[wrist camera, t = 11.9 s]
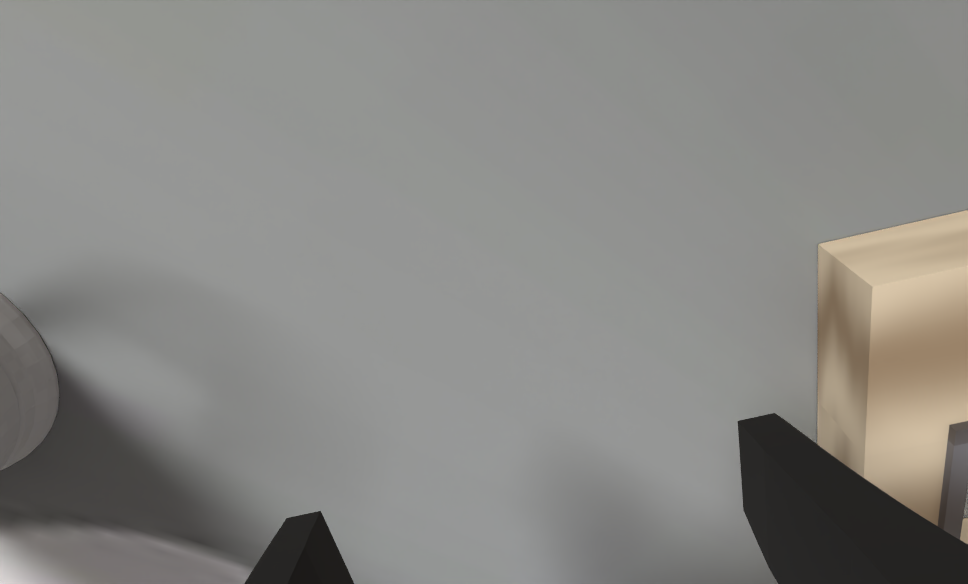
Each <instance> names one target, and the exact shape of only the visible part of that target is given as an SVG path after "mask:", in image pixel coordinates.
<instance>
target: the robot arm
mask: <svg viewBox="0 0 968 584" xmlns="http://www.w3.org/2000/svg"><path fill="white" fill-rule="evenodd" d="M738 431H739V447H740V462H741V477H742V493H743V508H744V512H745V514H746V517H747V519H748V521H749V524H750V526H751V528H752V530H753V533H754V535H755V537H756V540H757V542H758V544H759V546H760V549H761V551H762V553H763V555H764V557H765V560H766V562H767V564H768V566H769V568H770V570H771V572H772V573H773V575H774V577H775V579H776V580H777V582H778V584H968V544H966V543H965V542H963V541H961V540H959V539H958V538H956V537H954V536H953V535H951V534H950V533H948V532H946V531H945V530H943V529H941V528H940V527H938V526H937V525H935V524H933V523H932V522H930V521H928V520H927V519H925V518H923V517H922V516H920V515H919V514H917V513H916V512H914V511H913V510H911V509H909V508H908V507H906V506H905V505H903V504H902V503H900V502H899V501H897V500H896V499H894V498H893V497H891V496H890V495H888V494H887V493H885V492H884V491H882V490H881V489H879V488H878V487H877V486H875V485H874V484H872V483H871V482H869V481H868V480H866V479H865V478H863V477H862V476H860V475H859V474H858V473H856V472H855V471H853V470H852V469H850V468H849V467H848V466H846V465H845V464H843V463H842V462H841V461H839V460H838V459H837V458H835V457H834V456H832V455H831V454H830V453H828V452H827V451H826V450H824V449H823V448H821V447H820V446H819V445H817V444H816V443H815V442H813V441H812V440H811V439H809V438H808V437H807V436H805V435H804V434H803V433H801V432H800V431H799V430H797V429H796V428H795V427H793V426H792V425H791V424H789V423H788V422H787V421H785V420H784V419H783V418H781V417H780V416H778V415H777V414H775V413H773V414H768V415H764V416H759V417H754V418H750V419H745V420H740V421H738ZM245 584H354V582H353V580H352V578H351V576H350V574H349V572H348V569H347V567H346V565H345V563H344V561H343V559H342V556H341V554H340V552H339V550H338V548H337V546H336V543H335V541H334V539H333V537H332V535H331V533H330V530H329V528H328V526H327V524H326V522H325V519H324V517H323V515H322V513H321V511H318V512H314V513H309V514H304V515H300V516H295V517H290V518H287V519H286V520H285V522H284V523H283V525H282V526H281V528H280V529H279V531H278V532H277V534H276V535H275V537H274V538H273V540H272V541H271V543H270V544H269V546H268V548H267V549H266V551H265V552H264V554H263V555H262V557H261V559H260V560H259V562H258V563H257V565H256V566H255V568H254V570H253V571H252V573H251V574H250V576H249V577H248V579H247V580H246V582H245Z"/></svg>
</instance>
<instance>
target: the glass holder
mask: <svg viewBox="0 0 968 584" xmlns="http://www.w3.org/2000/svg"><path fill="white" fill-rule="evenodd" d="M58 403H59V386H58V378H57V373H56V370H55V367H54V364H53V361H52V358H51V355H50V353H49V351H48V349H47V348H46V346H45V344H44V342H43V341H42V339H41V337H40V335H39V333H38V332H37V331H36V330H35V328H34V327H33V326H32V325H31V323H30V322H29V321H28V320H27V318H26V317H25V316H24V315H23V313H22V312H21V311H19V310H18V309H17V308H16V307H15V306H14V305H13V304H12V303H11V302H10V301H9V300H8V299H7V298H6V297H5V296H4V295H2V294H1V293H0V470H3V469H5V468H7V467H9V466H11V465H13V464H14V463H16V462H18V461H20V460H21V459H23V458H25V457H26V456H27V455H28V454H30V453H31V452H32V451H33V450H34V449H35V448H36V447H37V446H38V445H39V444H41V443H42V441H43V440H44V438H45V437H46V435H47V434H48V433H49V431H50V430H51V428H52V426H53V423H54V420H55V417H56V415H57V412H58Z"/></svg>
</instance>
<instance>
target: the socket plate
mask: <svg viewBox="0 0 968 584" xmlns="http://www.w3.org/2000/svg"><path fill="white" fill-rule="evenodd" d="M817 445H819V446H820V447H821V448H823V449H824V450H826V451H827V452H828V453H830V454H831V455H832V456H834V457H835V458H837V459H838V460H839V461H841V462H842V463H843V464H845V465H846V466H848V467H849V468H850V469H852V470H853V471H855V472H856V473H858V474H859V475H860V476H862V477H863V478H865V479H866V480H868V481H869V482H871V483H872V484H874V485H875V486H877V487H878V488H879V489H881V490H882V491H884V492H885V493H887V494H888V495H890V496H891V497H893V498H894V499H896V500H897V501H899V502H900V503H902V504H903V505H905V506H906V507H908V508H909V509H911V510H913V511H914V512H916V513H917V514H919V515H920V516H922V517H923V518H925V519H927V520H928V521H930V522H932V523H933V524H935V525H937V526H938V527H940V528H941V529H943V530H945V531H946V532H948V533H950V534H951V535H953V536H954V537H956V538H958V539H959V540H961V541H963V542H965V543H966V544H968V518H964V519H963V514H964V507H965V500H966V493H967V486H968V210H966V211H962V212H957V213H953V214H949V215H944V216H940V217H935V218H931V219H927V220H922V221H918V222H913V223H909V224H905V225H900V226H896V227H891V228H887V229H883V230H878V231H874V232H869V233H865V234H860V235H856V236H852V237H847V238H843V239H838V240H834V241H830V242H825V243H821V244H818V411H817Z"/></svg>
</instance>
